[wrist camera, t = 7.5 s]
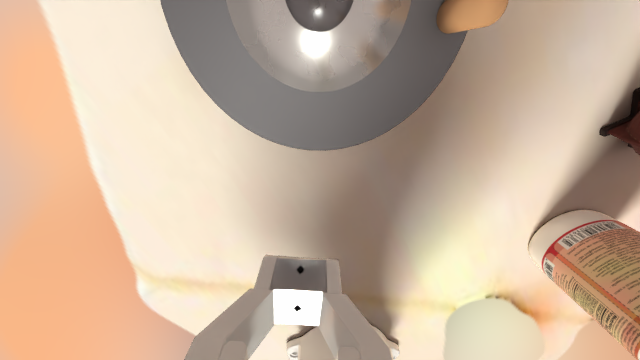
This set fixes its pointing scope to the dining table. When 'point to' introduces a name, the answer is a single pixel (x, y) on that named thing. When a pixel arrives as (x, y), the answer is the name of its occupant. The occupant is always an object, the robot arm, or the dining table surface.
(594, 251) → the fruit juice
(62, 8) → the dining table surface
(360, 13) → the cover
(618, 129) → the mate gourd
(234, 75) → the turntable
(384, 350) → the robot arm
